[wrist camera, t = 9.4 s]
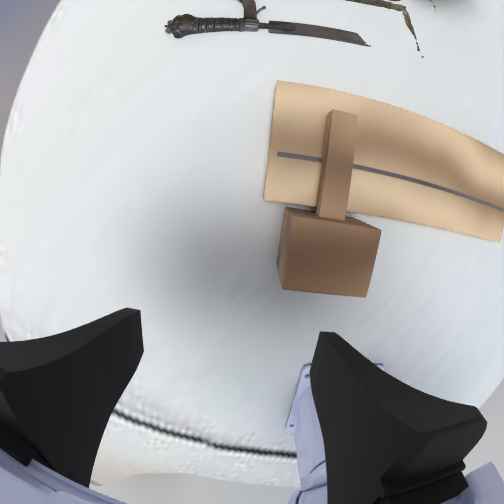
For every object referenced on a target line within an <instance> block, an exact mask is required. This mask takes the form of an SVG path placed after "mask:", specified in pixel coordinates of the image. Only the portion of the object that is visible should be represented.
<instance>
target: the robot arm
mask: <svg viewBox="0 0 504 504" xmlns="http://www.w3.org/2000/svg"><path fill="white" fill-rule="evenodd" d="M143 352H144V347H143V338H142V326H141V313H140V310H137V309H131V308H124V309H121V310H119V311H116V312H114V313H111V314H109V315H107V316H104V317H102V318H100V319H97V320H95V321H93V322H90V323H88V324H85V325H83V326H80V327H77V328H75V329H72V330H69V331H66V332H63V333H60V334H56V335H52V336H48V337H44V338H38V339H32V340H26V341H15V342H0V504H128V503H125V502H122V501H119V500H116V499H114V498H111V497H108V496H105V495H103V494H101V493H98V492H96V491H94V490H91V489H89V484H90V479H91V474H92V469H93V466H94V462H95V458H96V455H97V451H98V448H99V445H100V442H101V439H102V436H103V433H104V430H105V428H106V425H107V423H108V420H109V418H110V415H111V413H112V411H113V409H114V407H115V405H116V404H117V402H118V400H119V399H120V397H121V395H122V393H123V392H124V390H125V388H126V387H127V385H128V383H129V382H130V380H131V378H132V376H133V375H134V373H135V371H136V369H137V367H138V365H139V362H140V360H141V357H142V355H143ZM385 370H386V369H385V367H384V366H383V365H375V364H373V363H372V362H371V361H369V360H368V359H367V358H366V357H364V356H363V355H362V354H361V353H359V352H358V351H357V350H356V349H355V348H353V347H352V346H351V345H350V344H349V343H348V342H346V341H345V340H344V339H343V338H342V337H340V336H339V335H338V334H336V333H335V332H320V334H319V338H318V342H317V346H316V349H315V353H314V357H313V360H312V364H311V365H307V366H305V367H304V368H303V370H302V373H301V377H300V381H299V384H298V388H297V391H296V395H295V398H294V401H293V405H292V408H291V411H290V415H289V418H288V421H287V424H286V427H285V432H286V433H287V434H295V442H296V450H297V459H298V469H299V475H300V478H301V479H300V481H301V490H298V491H296V492H294V493H293V494H292V495H291V497H290V499H289V502H288V504H504V482H503V480H502V478H501V476H500V475H499V473H498V471H497V469H496V468H495V466H494V464H493V463H492V462H489V463H487V464H485V465H483V466H482V467H480V468H478V469H476V470H474V471H472V472H470V473H469V474H468V475H467V476H465V477H464V476H463V473H462V472H461V471H463V470H464V469H465V464H464V462H463V459H464V458H465V457H466V456H467V454H468V453H469V452H470V451H471V450H472V449H473V448H474V446H475V445H476V444H477V443H478V442H479V440H480V439H481V437H482V436H483V434H484V432H485V430H486V426H487V422H486V420H485V418H484V417H483V416H482V415H481V413H480V411H479V410H478V409H477V408H476V407H475V406H470V405H465V404H460V403H455V402H451V401H447V400H444V399H441V398H437V397H434V396H432V395H429V394H426V393H424V392H422V391H419V390H417V389H415V388H413V387H411V386H409V385H407V384H405V383H403V382H401V381H399V380H398V379H396V378H394V377H392V376H391V375H389V374H388V373H386V372H385ZM306 374H309V375H308V376H305V375H306ZM291 424H292V425H291Z"/></svg>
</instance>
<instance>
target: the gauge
mask: <svg viewBox="0 0 504 504" xmlns="http://www.w3.org/2000/svg"><path fill="white" fill-rule="evenodd" d="M357 121H358V115H355V114H351V113H347V112H343V111H339V110H335V109H332V110H331V111H330V112H329V113H328V116H327V126H326V135H325V144H324V153H323V161H322V169H321V176H320V183H319V191H318V197H317V204H316V211H309V210H302V209H295V208H288V207H285V210H284V217H283V224H282V231H281V238H280V244H279V251H278V258H277V267H278V271H279V276H280V280H281V285H282V289H284V290H294V291H303V292H312V293H322V294H333V295H343V296H354V297H366V295H367V291H368V287H369V283H370V279H371V275H372V271H373V267H374V263H375V258H376V254H377V249H378V245H379V240H380V235H381V230H380V229H378V228H375V227H373V226H371V225H369V224H366V223H364V222H362V221H360V220H357V219H355V218H352V217H346V210H347V204H348V197H349V191H350V184H351V176H352V169H353V160H354V152H355V142H356V132H357Z"/></svg>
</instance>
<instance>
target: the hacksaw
mask: <svg viewBox="0 0 504 504" xmlns="http://www.w3.org/2000/svg"><path fill="white" fill-rule="evenodd" d="M239 1H240V2H242V3H243V7H244V18H239V19H237V18H197V17H194V16H192V15H190V14H184V15H178V16H176V17H175V18H174V19H173V21H172V20H170V21H168V24H169V25H165V27H169V28H167V29H166V30H165V31H166V32H170V31H171V29H172V31H173V32H172V34H173V35H174V37H175V38H181V37H183V36H185V35H188V34H195V33H202V32H217V31H237V30H238V31H258V28H262V29H269V32H274V33H276V32H277V33H286V34H287V33H288V34H297V35H298V34H299V35H306V36H307V35H308V36H314V37H322V38H327V39H333V40H338V41H343V42H348V43H353V44H358V45H361V46H362V45H363V46H369V47H371V46H370V45H367V44H365V43H366V42H364V40H363V39H362V38H361V37H360V36H359V35H358V34H357V33H354V32H349V31H345V30H340V29H335V28H329V27H323V26H316V25H309V24H301V23H292V22H281V21H269V23H259V20H257V18H256V13H257V12H258V11H259V10H261V9H262V8H266V7H265V6H263V7H262V8H260V9H259V10H258V11H256V5H255V1H254V0H239ZM346 1H352V2H358V3H363V4H368V5H373V6H378V7H385V8H388V9H394V10H397V11H404V12H402V13H403V14H404V13H406V14H404V16H405V17H404V19H405V22H406V25H407V27H408V28H409V29H410V31H411V32H412V34H413V35H414V37H415V39H416V36H415V32H414V29H413V26H412V24H411V21H410V17H409V14H408V12H406V11H405V10H406V9H405V8H406V7H405V6H404V7H403V5H398V4H393V3H391V2H386V1H383V0H346ZM390 1H400V0H390ZM430 1H431V0H430ZM434 7H435V6H434ZM435 11H436V10H435ZM416 41H417V39H416ZM416 44H417V46H418V43H417V42H416ZM417 48H418V49H417V50H418V51H420V50H419V46H418V47H417ZM422 58H424V57H423V56H422Z"/></svg>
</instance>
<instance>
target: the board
mask: <svg viewBox="0 0 504 504" xmlns="http://www.w3.org/2000/svg"><path fill="white" fill-rule="evenodd" d="M332 109H335V110H339V111H343V112H347V113H351V114H355V115H358V121H357V132H356V142H355V152H354V160H353V169H352V176H351V184H350V191H349V197H348V204H347V210H346V211H348V212H354V213H360V214H366V215H372V216H378V217H383V218H389V219H394V220H400V221H405V222H410V223H415V224H420V225H425V226H430V227H435V228H440V229H444V230H449V231H453V232H458V233H462V234H466V235H471V236H475V237H479V238H483V239H487V240H491V241H495V242H499V243H500V242H501V237H502V232H503V226H504V155H503V154H502V153H500V152H498V151H497V150H495V149H493V148H491V147H489V146H487V145H486V144H484V143H482V142H480V141H478V140H476V139H474V138H472V137H470V136H468V135H466V134H464V133H462V132H460V131H457V130H455V129H453V128H451V127H448V126H446V125H444V124H441V123H439V122H437V121H434V120H432V119H429V118H427V117H424V116H421V115H419V114H416V113H413V112H411V111H408V110H405V109H402V108H399V107H396V106H393V105H390V104H386V103H383V102H380V101H376V100H373V99H369V98H366V97H362V96H358V95H354V94H350V93H346V92H341V91H337V90H332V89H327V88H322V87H317V86H312V85H306V84H300V83H293V82H286V81H279V80H277V83H276V89H275V98H274V108H273V117H272V126H271V135H270V144H269V153H268V162H267V171H266V180H265V189H264V198H263V199H264V200H267V201H276V202H284V203H292V204H300V205H307V206H314V207H316V204H317V197H318V191H319V183H320V176H321V169H322V161H323V153H324V144H325V135H326V126H327V116H328V113H329V112H330V111H331V110H332Z"/></svg>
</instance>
